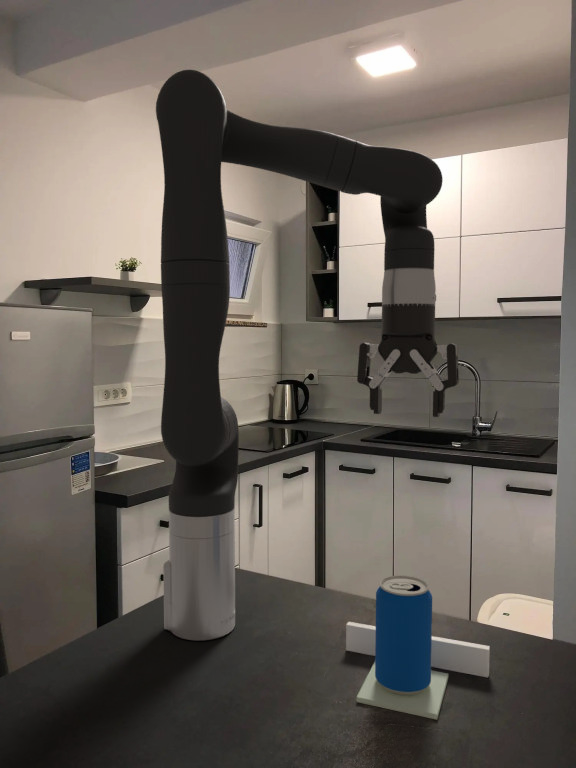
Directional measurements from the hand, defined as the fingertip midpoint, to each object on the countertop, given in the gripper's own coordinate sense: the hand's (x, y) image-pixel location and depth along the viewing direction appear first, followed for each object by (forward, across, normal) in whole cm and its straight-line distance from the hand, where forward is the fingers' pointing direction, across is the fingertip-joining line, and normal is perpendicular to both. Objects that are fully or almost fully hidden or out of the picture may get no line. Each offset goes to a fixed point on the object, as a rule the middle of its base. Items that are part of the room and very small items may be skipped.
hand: (406, 415), depth 92 cm
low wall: (+30, +4, -12) cm, 33 cm away
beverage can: (+30, +4, -19) cm, 36 cm away
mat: (+30, +4, -20) cm, 36 cm away
